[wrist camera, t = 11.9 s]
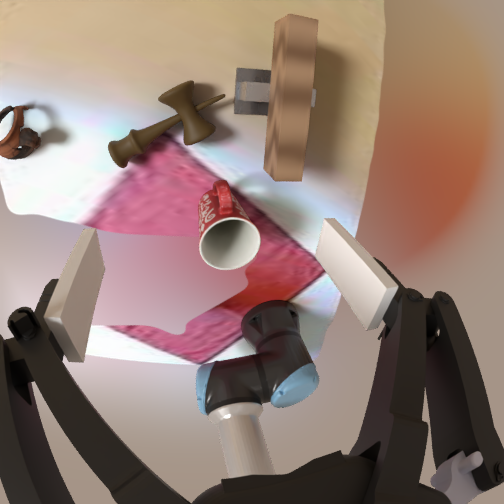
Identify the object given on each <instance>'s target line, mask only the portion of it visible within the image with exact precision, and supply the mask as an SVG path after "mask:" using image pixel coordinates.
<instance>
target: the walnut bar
mask: <svg viewBox="0 0 504 504" xmlns="http://www.w3.org/2000/svg"><path fill="white" fill-rule="evenodd" d="M317 32H318V20H317V19H312V18H308V17H304V16H299V15H294V14H288V15H287V16H285V17H283V18H281V19H280V20H278V21H276V22H275V30H274V43H273V56H272V69H271V82H270V94H269V107H268V119H267V132H266V144H265V156H264V168H263V169H264V170H265V171H266V172H267V173H268V174H269V175H270V176H271V177H272V178H273V180H274V181H302V175H303V168H304V160H305V152H306V144H307V136H308V128H309V119H310V110H311V100H312V91H313V80H314V70H315V58H316V46H317Z"/></svg>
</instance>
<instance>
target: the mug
mask: <svg viewBox="0 0 504 504" xmlns="http://www.w3.org/2000/svg"><path fill="white" fill-rule="evenodd" d="M198 213H199V235H200V241H199V251H200V255H201V257H202V258H203V260H204V261H205V262H206V263H207V264H208V265H210V266H212V267H214V268H217V269H221V270H232V269H237V268H240V267H242V266H244V265H246V264H247V263H249V262H250V261H251V260H252V259H253V258H254V257H255V256H256V254H257V252H258V250H259V248H260V244H261V237H260V233H259V230H258V229H257V227H256V226H255V225H254V224H253V223H252V222H251V220H250V219H249V217H248V216H247V214H246V213H245V211H244V210H243V208H242V207H241V205H240V204H239V202H238V201H237V199H236V198H235V196H234V195H233V194H232V193H231V192H230V187H229V185H228V182H227V181H226V180H219V181H216V182H214V184H213V190H210V191H208V192H207V193H205V194H204V195H203V196H202V198H201V199H200V202H199V206H198Z"/></svg>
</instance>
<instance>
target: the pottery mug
mask: <svg viewBox="0 0 504 504" xmlns="http://www.w3.org/2000/svg"><path fill="white" fill-rule="evenodd" d="M22 109H24V110H28V109H29V108H28V107H25V106H15V107H12V106H8V107H6V108H4V109H3V110H2V111H1V112H0V123H1V121H2V119H3V118H4V117H5V116H6V115H7V114H8V113H9V112H10V111H13V112H14V122H13V125H12V128H11V130H10V131H9V133H8V134H7V136H6V137H5V138H4V139H3V140H1V141H0V155H1V156H2V157H4V158H7V159H13V160H14V159H15V160H16V159H22V158H25V157H27V156H28V155H29V154H30V153H31V152H32V151H33V150H34V148H35V149H37V148H38V147H39V146H40V145H41V138H40V137H38V133H37V132H35V131H33V130H32V129H30V128H24V129H22V130H21V132H20V127H23V126H24V116H23V110H22ZM19 146H22V148H18V147H19Z"/></svg>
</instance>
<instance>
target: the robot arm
mask: <svg viewBox="0 0 504 504" xmlns="http://www.w3.org/2000/svg"><path fill="white" fill-rule="evenodd" d="M315 257H316V258H317V260H318V261H319V263H320V264H321V265H322V267H323V268H324V270H325V271H326V272H327V274H328V275H329V277H330V278H331V280H332V281H333V282H334V284H335V285H336V287H337V288H338V290H339V291H340V293H341V294H342V296H343V297H344V298H345V300H346V301H347V303H348V304H349V306H350V307H351V309H352V310H353V312H354V313H355V315H356V316H357V318H358V319H359V321H360V322H361V324H362V325H363V327H364V328H365V330H366V331H368V330H372V329H376V328H378V326H379V325H380V323H381V321H382V319H383V321H384V322H385V324H386V325H385V327H384V328H383V330H382V332H381V334H380V336H379V337H378V340H380V338H381V337H382V340H381V346H380V351H379V357H378V362H377V367H376V372H375V376H374V381H373V386H372V390H371V394H370V398H369V402H368V406H367V410H366V413H365V417H364V420H363V424H362V427H361V431H360V434H359V437H358V440H357V442H356V443H355V445H354V447H353V448H352V450H351V451H350V453H349V455H342V453H341V450H339V451H337V452H334V453H331V454H328V455H325V456H322V457H319V458H316V459H313V460H312V461H310V462H308V463H307V464H305V465H303V466H301V467H300V468H298V469H296V470H294V471H293V472H291V473H289V474H284V475H276V474H275V471H274V468H273V465H272V461H271V458H270V455H269V452H268V449H267V445H266V442H265V439H264V435H263V432H262V429H261V426H260V422H259V419H258V417H259V416H260V415H261V413H262V411H263V407H262V404H263V403H267V402H271V404H272V405H273V406H274V407H277V408H280V407H282V408H284V407H288V406H291V405H294V404H296V403H298V402H300V401H302V400H303V399H305V398H306V397H308V396H309V395H310V394H312V393H313V392H314V390H315V389H316V388H317V386H318V384H319V376H318V373H317V371H316V366H315V365H314V363H313V361H312V359H311V357H310V355H309V353H308V351H307V348H306V346H305V344H304V342H303V340H302V338H301V336H300V326H299V316H298V313H297V311H296V309H295V307H294V306H293V305H292V304H290V303H288V302H286V301H280V300H275V301H268V302H265V303H262V304H259V305H257V306H256V307H254V308H253V309H251V310H250V311H249V312H248V313H247V314H246V315H245V316H244V318H243V320H242V322H241V330H242V333H243V336H244V338H245V339H246V341H247V342H248V343H249V344H250V346H251V347H252V348H253V349H254V351H255V352H256V354H254V355H249V356H244V357H239V358H234V359H228V360H223V361H214V362H212V363H207V364H203V365H201V366H200V367H199V369H198V370H197V374H196V394H197V398H198V399H197V400H198V406H199V410H200V412H201V413H202V414H205V415H208V420H209V421H210V422H212V423H213V424H215V425H217V427H218V432H219V437H220V441H221V446H222V450H223V454H224V459H225V463H226V467H227V471H228V475H229V479H222V480H221V484H218V485H216V486H214V487H211V488H209V489H207V490H206V491H205V492H203V493H202V494H200V495H199V496H198V497H197V498H196V499H195V500H194V501H193V502H192V504H467V503H468V502H470V501H471V500H472V499H474V498H475V497H476V496H477V495H479V494H481V493H483V492H485V491H487V490H489V489H491V488H494V487H495V486H498V485H500V484H501V483H502V482H504V448H503V446H502V444H501V441H500V439H499V437H498V434H497V432H496V430H495V428H494V424H493V419H492V415H491V410H490V405H489V402H488V397H487V394H486V390H485V386H484V382H483V379H482V375H481V372H480V369H479V366H478V363H477V360H476V357H475V354H474V351H473V348H472V345H471V342H470V340H469V337H468V334H467V332H466V329H465V327H464V324H463V322H462V319H461V317H460V314H459V312H458V310H457V307H456V305H455V303H454V301H453V299H452V298H451V297H450V296H449V295H448V294H446V293H445V292H442V291H437V292H436V293H435V294H434V296H433V298H432V299H431V298H430V299H429V298H424V297H423V295H422V294H421V293H419V292H418V291H417V290H415V289H411V288H405V287H404V286H403V285H402V284H401V283H400V282H399V280H398V279H397V278H396V277H395V276H394V275H393V274H391V272H390V270H388V269H387V267H386V266H385V265H384V264H383V263H382V262H381V261H379V260H378V259H376V258H374V257H372V256H371V255H370V254H369V253H368V252H367V251H366V250H365V249H364V248H363V247H362V246H361V245H360V244H359V243H358V242H357V240H356V239H355V238H354V237H353V236H352V235H351V234H350V233H349V232H348V231H347V230H346V229H345V228H344V227H343V226H342V225H341V224H340V223H339V222H338V221H337V220H336V219H335V218H324V220H323V225H322V229H321V233H320V238H319V242H318V246H317V250H316V254H315ZM104 271H105V267H104V263H103V258H102V254H101V250H100V245H99V241H98V236H97V231H96V228H91V229H83V231H82V233H81V235H80V237H79V239H78V241H77V243H76V245H75V247H74V249H73V251H72V253H71V255H70V257H69V259H68V261H67V263H66V265H65V267H64V270H63V272H62V274H61V276H60V278H59V279H52V280H51V281H50V282H49V283H48V284H47V285H46V286H45V288H44V291H43V293H42V295H41V297H40V300H39V302H38V304H37V307H36V309H35V312H33V310H31V308H29V307H21V308H19V309H17V310H15V311H14V312H13V313H12V314H11V315H10V317H9V319H8V327H9V329H10V331H11V332H12V334H13V335H14V337H13V338H10V339H6V340H4V339H3V337H2V336H1V335H0V478H1V481H2V484H3V487H4V490H5V493H6V495H7V498H8V500H9V503H10V504H75V503H74V501H73V499H72V497H71V495H70V493H69V491H68V489H67V487H66V485H65V483H64V480H63V478H62V476H61V474H60V472H59V469H58V467H57V465H56V462H55V460H54V457H53V455H52V452H51V449H50V446H49V444H48V441H47V438H46V435H45V432H44V429H43V426H42V422H41V419H40V416H39V412H38V409H37V405H36V401H35V397H34V393H33V388H32V384H31V382H34V381H35V383H36V385H37V386H38V388H39V390H40V392H41V394H42V396H43V398H44V400H45V401H46V403H47V405H48V406H49V408H50V410H51V412H52V413H53V415H54V417H55V418H56V420H57V422H58V423H59V425H60V426H61V428H62V429H63V431H64V433H65V434H66V436H67V437H68V438H69V440H70V441H71V442H72V444H73V446H74V447H75V448H76V450H77V451H78V452H79V454H80V455H81V456H82V458H83V459H84V460H85V462H86V463H87V464H88V465H89V467H90V468H91V469H92V470H93V472H94V473H95V474H96V475H97V476H98V478H99V479H100V480H101V481H102V482H103V483H104V485H105V486H106V487H107V488H108V489H109V491H110V492H111V495H112V497H113V498H114V500H115V501H116V502H117V503H118V504H191V503H190V502H189V501H187V500H186V499H185V498H184V497H182V496H181V495H180V494H178V493H177V492H176V491H175V490H174V489H172V488H171V487H170V486H169V485H168V484H166V483H165V482H164V481H163V480H162V479H161V478H159V477H158V476H157V475H156V474H155V473H154V472H153V471H152V470H150V468H148V467H147V466H146V465H145V464H144V463H143V462H142V461H141V460H140V459H139V458H138V457H137V456H136V455H135V454H134V453H133V452H132V451H131V450H130V449H129V448H128V447H127V445H126V444H125V443H124V442H123V441H122V440H121V439H120V438H119V437H118V436H117V434H116V433H115V432H114V431H113V430H112V429H111V428H110V426H109V425H108V424H107V423H106V422H105V421H104V419H103V418H102V417H101V415H100V414H99V413H98V412H97V410H96V409H95V408H94V407H93V405H92V404H91V403H90V401H89V400H88V399H87V397H86V396H85V395H84V393H83V392H82V391H81V389H80V388H79V386H78V385H77V383H76V382H75V381H74V379H73V377H72V376H71V374H70V373H69V371H68V370H67V368H66V367H65V365H64V364H63V362H62V361H63V356H64V355H65V356H66V358H67V360H68V361H69V362H84V357H85V352H86V347H87V342H88V337H89V332H90V327H91V322H92V317H93V313H94V309H95V305H96V301H97V297H98V293H99V290H100V286H101V282H102V279H103V275H104ZM438 330H440V333H439V336H438V334H437V331H438ZM425 388H426V395H427V401H428V409H429V417H430V426H431V437H432V449H433V457H434V462H435V466H436V470H437V471H436V474H434V475H433V476H432V478H431V485H432V486H433V487H435V489H433V488H431V487H428V486H426V485H423V484H421V483H419V480H420V475H421V471H422V466H423V461H424V456H425V449H426V443H427V436H428V424H427V422H423V421H422V411H423V403H424V391H425Z"/></svg>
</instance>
